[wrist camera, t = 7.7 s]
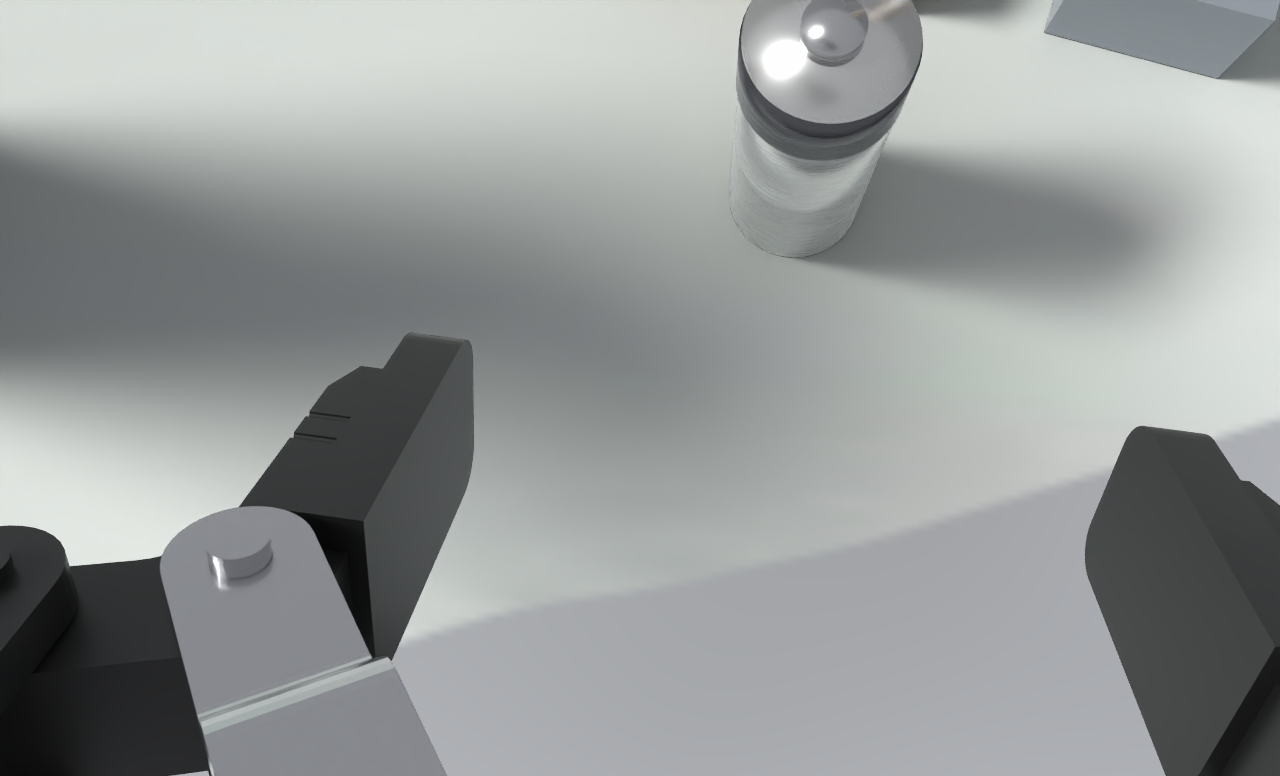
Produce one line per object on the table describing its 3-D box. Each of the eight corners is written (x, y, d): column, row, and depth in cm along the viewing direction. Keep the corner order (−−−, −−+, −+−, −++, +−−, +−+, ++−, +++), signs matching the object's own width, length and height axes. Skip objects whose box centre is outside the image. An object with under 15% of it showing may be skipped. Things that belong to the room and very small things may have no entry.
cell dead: (711, 236, 34) (715, 80, 24) (751, 120, 35) (772, -80, 24) (837, 275, 33) (900, 132, 23) (875, 156, 34) (952, -34, 24)
